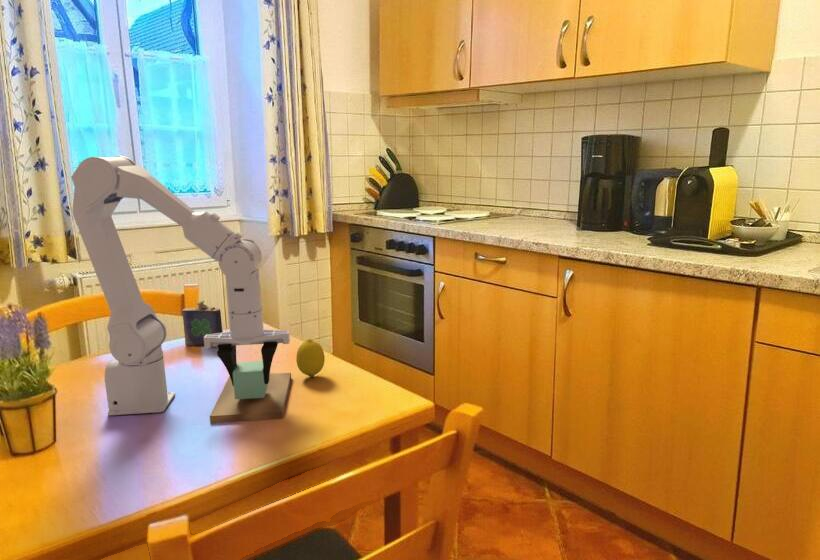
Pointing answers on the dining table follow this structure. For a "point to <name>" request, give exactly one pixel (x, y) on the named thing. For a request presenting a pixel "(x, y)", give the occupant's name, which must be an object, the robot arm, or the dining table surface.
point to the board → (253, 402)
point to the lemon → (310, 358)
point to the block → (249, 380)
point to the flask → (200, 324)
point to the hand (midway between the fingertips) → (251, 382)
